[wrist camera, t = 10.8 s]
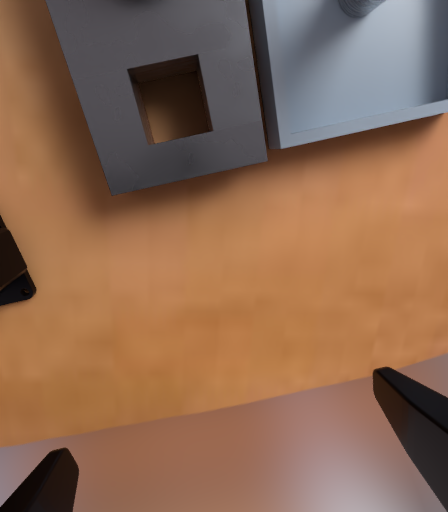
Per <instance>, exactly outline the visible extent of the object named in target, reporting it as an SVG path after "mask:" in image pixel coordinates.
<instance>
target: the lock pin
mask: <svg viewBox="0 0 448 512" xmlns="http://www.w3.org/2000/svg"><path fill="white" fill-rule="evenodd" d="M385 1H386V0H338V4H339V6H340V8H341V10H342V11H343V12H344V13H345V14H346V15H348V16H349V17H352V18H361V17H364V16H366V15H368V14H369V13H370V12H372V11H373V10H374V9H376V8H377V7H378V6H380V5H381V4H382V3H384V2H385Z"/></svg>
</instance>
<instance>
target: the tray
mask: <svg viewBox="0 0 448 512" xmlns="http://www.w3.org/2000/svg"><path fill="white" fill-rule="evenodd" d="M248 2H249V9H250V16H251V23H252V31H253V38H254V45H255V52H256V59H257V66H258V73H259V81H260V88H261V95H262V102H263V109H264V116H265V124H266V131H267V138H268V145H269V149H283V148H288V147H292V146H297V145H301V144H306V143H310V142H315V141H319V140H324V139H328V138H333V137H337V136H342V135H346V134H351V133H355V132H360V131H364V130H369V129H374V128H378V127H383V126H387V125H392V124H396V123H401V122H405V121H410V120H414V119H419V118H423V117H428V116H432V115H437V114H441V113H446V112H448V0H386V1H385V2H384V3H382V4H381V5H380V6H378V7H377V8H376V9H374V10H373V11H372V12H370V13H369V14H368V15H366V16H364V17H361V18H352V17H349V16H348V15H346V14H345V13H344V12H343V11H342V10H341V8H340V6H339V4H338V0H248Z"/></svg>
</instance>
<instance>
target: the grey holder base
mask: <svg viewBox="0 0 448 512" xmlns="http://www.w3.org/2000/svg"><path fill="white" fill-rule="evenodd" d="M45 1H46V4H47V6H48V9H49V12H50V15H51V18H52V21H53V24H54V27H55V30H56V33H57V36H58V39H59V42H60V45H61V48H62V51H63V53H64V56H65V59H66V62H67V65H68V68H69V71H70V74H71V77H72V80H73V83H74V86H75V89H76V92H77V95H78V98H79V100H80V103H81V106H82V109H83V112H84V115H85V118H86V121H87V124H88V127H89V130H90V133H91V136H92V139H93V142H94V144H95V147H96V150H97V153H98V156H99V159H100V162H101V165H102V168H103V171H104V174H105V177H106V180H107V183H108V186H109V189H110V191H111V194H112V196H113V195H117V194H122V193H126V192H131V191H135V190H140V189H144V188H149V187H153V186H158V185H162V184H167V183H171V182H176V181H180V180H185V179H189V178H194V177H198V176H203V175H207V174H212V173H216V172H221V171H225V170H230V169H234V168H239V167H243V166H248V165H252V164H257V163H261V162H266V161H268V159H267V152H266V145H265V138H264V131H263V124H262V117H261V110H260V103H259V96H258V89H257V82H256V75H255V68H254V61H253V54H252V47H251V40H250V33H249V26H248V19H247V12H246V5H245V0H45ZM194 71H197V75H198V80H199V84H200V89H201V94H202V99H203V104H204V109H205V114H206V119H207V123H208V128H209V132H207V133H203V134H198V135H193V136H189V137H184V138H180V139H175V140H170V141H166V142H161V143H157V144H154V140H153V136H152V132H151V129H150V125H149V121H148V118H147V114H146V110H145V107H144V103H143V99H142V96H141V92H140V88H139V85H138V83H142V82H146V81H151V80H156V79H161V78H165V77H170V76H175V75H180V74H184V73H189V72H194Z"/></svg>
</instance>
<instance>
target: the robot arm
mask: <svg viewBox="0 0 448 512" xmlns="http://www.w3.org/2000/svg"><path fill="white" fill-rule="evenodd" d="M24 289H27V290H28V291H29V293H27V292H25V291H24ZM35 293H36V287H35V285H34V283H33V281H32V279H31V277H30V275H29V273H28V271H27V265H26V263H25V261H24V259H23V257H22V255H21V253H20V251H19V249H18V247H17V245H16V243H15V241H14V239H13V237H12V234H11V232H10V231H9V230H8V229H7V228H6V226H5V224H4V222H3V220H2V217H1V215H0V306H1V305H5V304H9V303H14V302H18V301H22V300H27V299H30V298H31V297H32V296H34V295H35ZM373 391H374V395H375V398H376V400H377V401H378V403H379V405H380V406H381V408H382V410H383V412H384V414H385V416H386V417H387V419H388V421H389V423H390V424H391V426H392V428H393V430H394V431H395V433H396V435H397V437H398V438H399V440H400V442H401V444H402V445H403V447H404V449H405V451H406V452H407V454H408V455H409V457H410V458H411V460H412V461H413V463H414V464H415V466H416V467H417V469H418V470H419V472H420V473H421V474H422V476H423V477H424V479H425V480H426V482H427V483H428V485H429V486H430V488H431V489H432V490H433V492H434V493H435V495H436V496H437V498H438V499H439V501H440V502H441V503H442V505H443V506H444V508H445V509H446V511H447V512H448V398H447V397H446V396H443V395H442V394H440V393H438V392H436V391H434V390H432V389H430V388H428V387H426V386H424V385H422V384H421V383H419V382H417V381H415V380H413V379H411V378H409V377H407V376H405V375H403V374H401V373H399V372H398V371H396V370H394V369H392V368H390V367H382V368H378V369H375V370H374V371H373ZM78 476H79V468H78V465H77V463H76V461H75V460H74V458H73V456H72V455H71V453H70V451H69V450H68V449H67V448H60V449H56V450H53V451H51V452H50V453H49V454H47V456H46V457H45V458H44V459H43V460H42V461H41V462H40V463H39V464H38V466H37V467H36V468H35V469H34V470H33V471H32V472H31V473H30V475H29V476H28V477H27V478H26V479H25V480H24V481H23V482H22V483H21V485H20V486H19V487H18V488H17V489H16V490H15V491H14V492H13V494H12V495H11V496H10V497H9V498H8V499H7V500H6V501H5V503H4V504H3V505H2V506H1V507H0V512H73V506H74V499H75V494H76V488H77V482H78Z"/></svg>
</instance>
